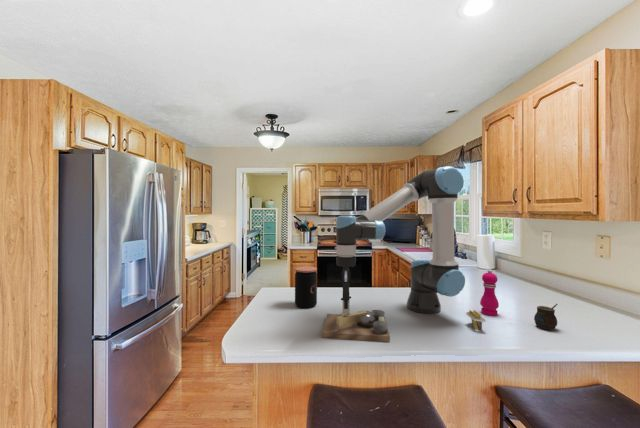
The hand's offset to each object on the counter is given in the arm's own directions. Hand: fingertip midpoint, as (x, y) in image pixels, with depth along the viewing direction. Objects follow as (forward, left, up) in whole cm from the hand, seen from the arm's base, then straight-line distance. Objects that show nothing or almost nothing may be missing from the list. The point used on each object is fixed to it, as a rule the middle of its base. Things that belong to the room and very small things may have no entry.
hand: (346, 316), depth 111 cm
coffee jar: (+20, -26, -5) cm, 33 cm away
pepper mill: (-64, -27, -5) cm, 69 cm away
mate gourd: (-79, -13, -5) cm, 80 cm away
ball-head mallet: (-4, +2, -3) cm, 5 cm away
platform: (-51, -9, -6) cm, 52 cm away
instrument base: (-4, -1, -5) cm, 6 cm away
